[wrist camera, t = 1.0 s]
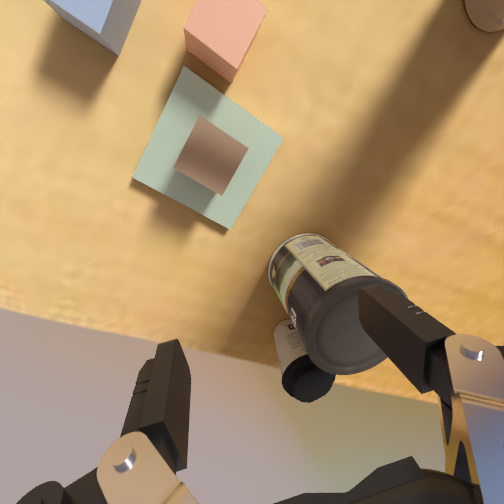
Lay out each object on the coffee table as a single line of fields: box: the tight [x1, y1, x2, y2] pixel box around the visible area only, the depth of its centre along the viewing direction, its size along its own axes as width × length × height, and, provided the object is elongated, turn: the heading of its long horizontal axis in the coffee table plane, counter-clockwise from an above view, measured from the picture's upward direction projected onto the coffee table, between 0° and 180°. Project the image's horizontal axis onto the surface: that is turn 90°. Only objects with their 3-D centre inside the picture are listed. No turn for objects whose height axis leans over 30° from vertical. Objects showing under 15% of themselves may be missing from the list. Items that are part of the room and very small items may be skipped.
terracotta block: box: [184, 0, 267, 83], centre depth 23 cm, size 5×5×5 cm
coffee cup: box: [273, 319, 336, 403], centre depth 35 cm, size 7×7×10 cm
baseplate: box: [132, 66, 284, 230], centre depth 29 cm, size 12×12×1 cm
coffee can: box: [268, 233, 408, 375], centre depth 30 cm, size 10×10×14 cm
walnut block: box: [173, 115, 249, 196], centre depth 26 cm, size 5×5×5 cm
